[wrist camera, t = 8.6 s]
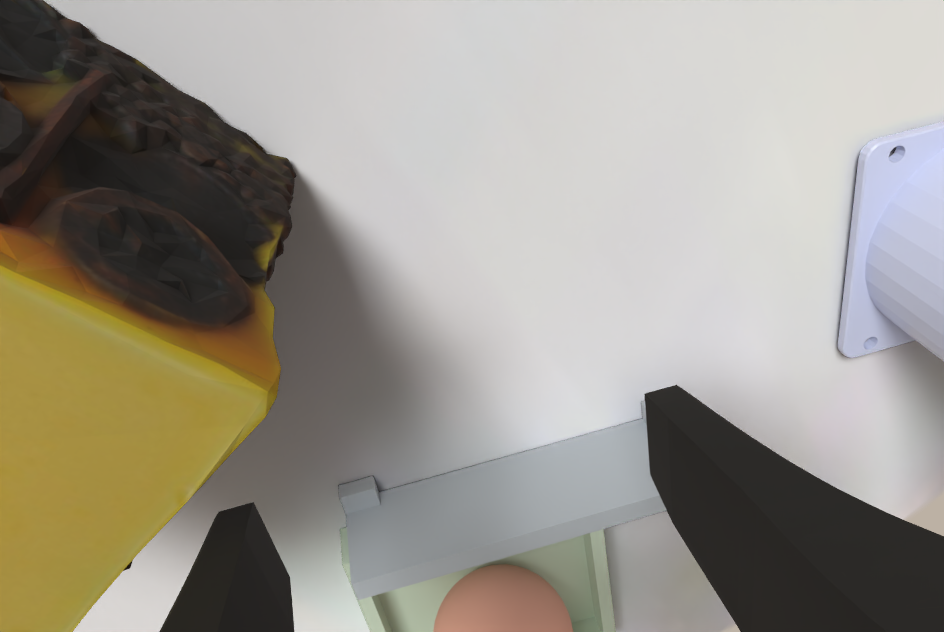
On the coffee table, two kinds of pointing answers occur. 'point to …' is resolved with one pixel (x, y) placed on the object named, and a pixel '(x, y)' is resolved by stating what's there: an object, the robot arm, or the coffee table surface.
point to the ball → (502, 603)
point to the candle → (118, 308)
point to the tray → (561, 564)
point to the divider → (497, 508)
